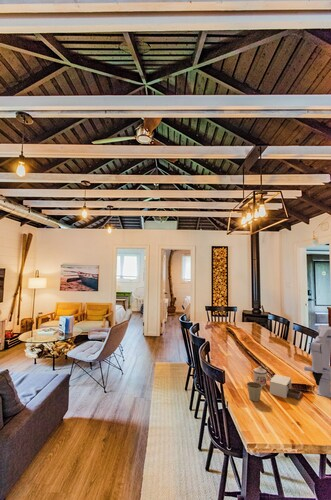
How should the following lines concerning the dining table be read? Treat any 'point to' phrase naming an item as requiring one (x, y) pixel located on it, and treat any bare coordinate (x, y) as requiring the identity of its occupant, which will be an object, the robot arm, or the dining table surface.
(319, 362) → the robot arm
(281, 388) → the grey rectangular block
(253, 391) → the flower pot
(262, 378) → the teacup with lid
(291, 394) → the tray
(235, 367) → the dining table surface
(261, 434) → the dining table surface
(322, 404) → the dining table surface
